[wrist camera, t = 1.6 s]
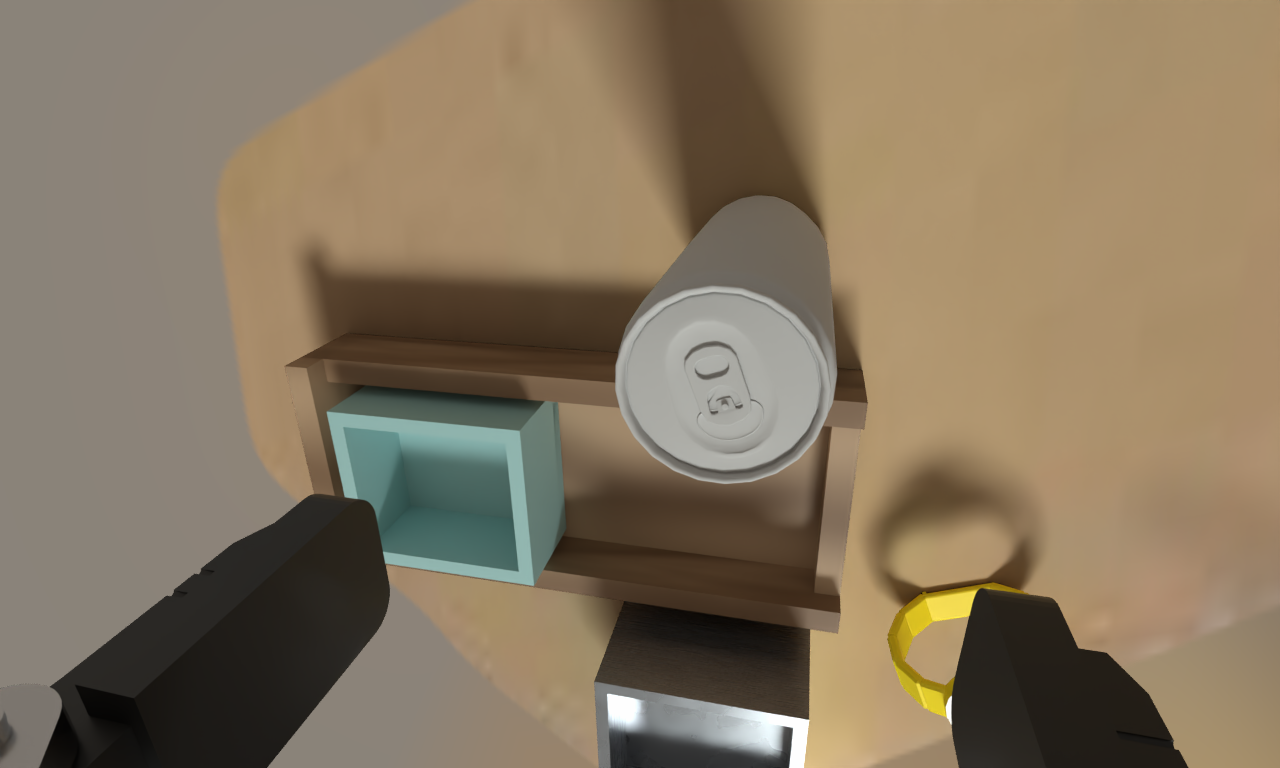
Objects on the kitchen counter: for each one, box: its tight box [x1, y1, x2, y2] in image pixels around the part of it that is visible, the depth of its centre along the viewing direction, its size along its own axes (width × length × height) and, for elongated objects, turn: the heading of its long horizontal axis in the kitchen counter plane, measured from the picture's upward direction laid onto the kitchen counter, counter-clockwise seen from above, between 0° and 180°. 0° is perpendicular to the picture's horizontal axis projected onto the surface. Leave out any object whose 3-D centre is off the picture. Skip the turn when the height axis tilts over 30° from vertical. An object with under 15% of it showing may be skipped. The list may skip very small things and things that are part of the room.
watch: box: [887, 582, 1028, 725], centre depth 26 cm, size 6×3×6 cm, turn 113°
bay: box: [284, 333, 868, 633], centre depth 28 cm, size 10×22×4 cm, turn 91°
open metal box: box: [594, 601, 810, 768], centre depth 30 cm, size 8×8×6 cm
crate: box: [327, 385, 566, 586], centre depth 29 cm, size 7×8×4 cm
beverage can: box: [615, 195, 837, 484], centre depth 20 cm, size 5×5×12 cm
